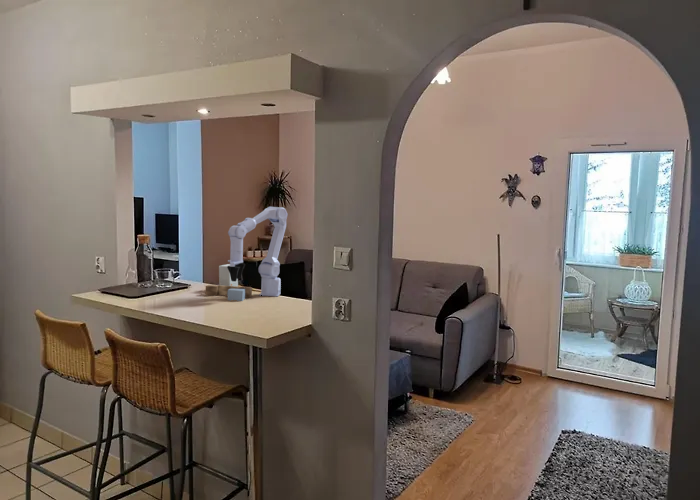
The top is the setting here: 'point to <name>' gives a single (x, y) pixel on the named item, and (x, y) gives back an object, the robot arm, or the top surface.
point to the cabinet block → (236, 294)
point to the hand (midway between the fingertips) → (236, 279)
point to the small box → (226, 277)
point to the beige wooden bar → (225, 290)
